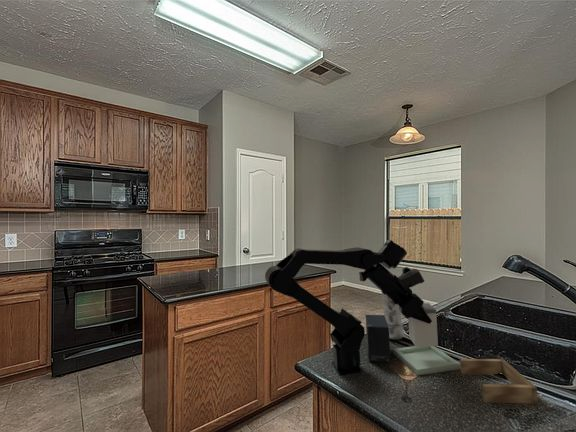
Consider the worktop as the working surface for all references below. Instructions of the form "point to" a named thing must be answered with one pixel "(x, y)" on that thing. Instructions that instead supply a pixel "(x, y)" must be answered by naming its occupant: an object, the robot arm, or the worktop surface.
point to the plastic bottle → (392, 318)
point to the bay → (501, 392)
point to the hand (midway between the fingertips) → (426, 318)
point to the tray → (425, 359)
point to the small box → (377, 338)
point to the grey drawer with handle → (424, 328)
